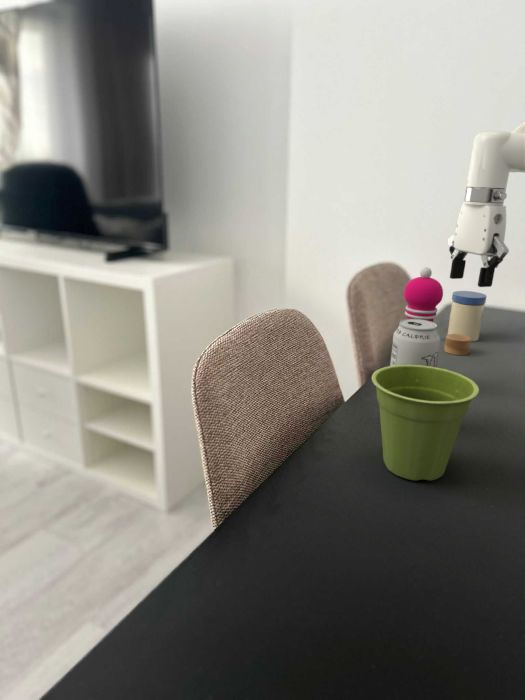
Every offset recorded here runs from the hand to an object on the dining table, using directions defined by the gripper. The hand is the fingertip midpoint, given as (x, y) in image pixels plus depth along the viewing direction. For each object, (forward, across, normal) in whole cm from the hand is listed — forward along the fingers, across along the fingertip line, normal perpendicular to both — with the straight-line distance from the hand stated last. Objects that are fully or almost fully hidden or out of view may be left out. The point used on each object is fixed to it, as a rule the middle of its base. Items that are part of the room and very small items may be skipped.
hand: (469, 281), depth 110 cm
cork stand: (+12, -8, +8) cm, 17 cm away
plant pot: (+13, -42, +42) cm, 61 cm away
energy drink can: (+13, -32, +37) cm, 51 cm away
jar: (+12, 0, 0) cm, 12 cm away
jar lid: (+3, 0, 0) cm, 3 cm away
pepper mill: (+13, -20, +27) cm, 36 cm away
